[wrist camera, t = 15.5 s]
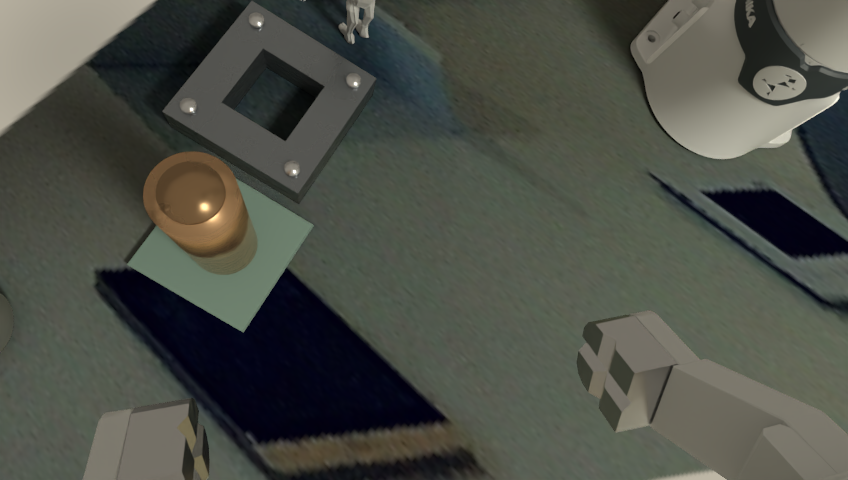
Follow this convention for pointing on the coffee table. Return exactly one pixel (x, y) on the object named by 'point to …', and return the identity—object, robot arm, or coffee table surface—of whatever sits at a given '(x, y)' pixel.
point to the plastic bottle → (5, 322)
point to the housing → (236, 73)
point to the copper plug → (202, 211)
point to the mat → (238, 291)
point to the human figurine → (352, 5)
